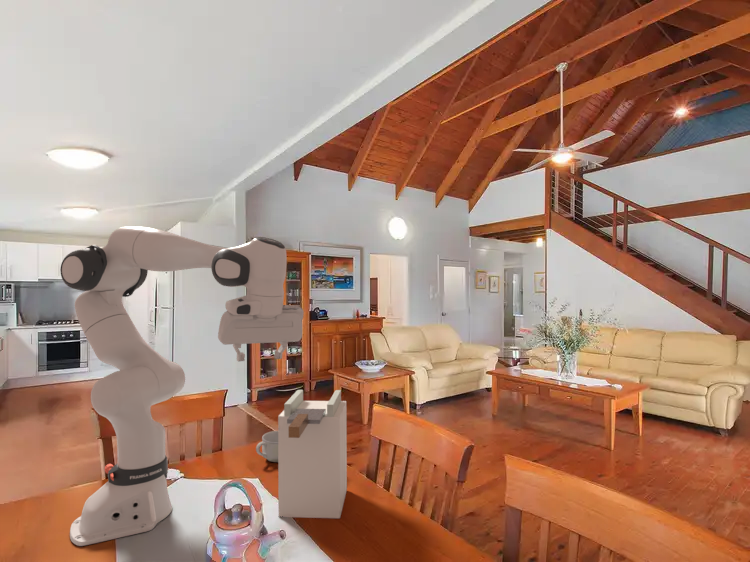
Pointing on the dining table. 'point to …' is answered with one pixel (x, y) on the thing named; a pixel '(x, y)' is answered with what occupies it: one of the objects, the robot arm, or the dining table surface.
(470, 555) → the dining table surface
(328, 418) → the tall box with rails
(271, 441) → the teacup
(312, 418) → the brown block on plate
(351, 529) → the dining table surface
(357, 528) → the dining table surface
